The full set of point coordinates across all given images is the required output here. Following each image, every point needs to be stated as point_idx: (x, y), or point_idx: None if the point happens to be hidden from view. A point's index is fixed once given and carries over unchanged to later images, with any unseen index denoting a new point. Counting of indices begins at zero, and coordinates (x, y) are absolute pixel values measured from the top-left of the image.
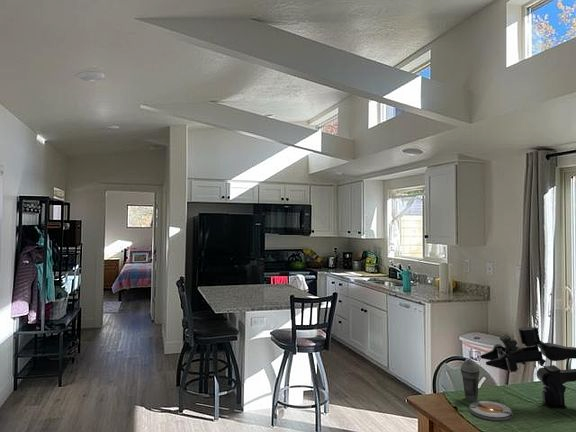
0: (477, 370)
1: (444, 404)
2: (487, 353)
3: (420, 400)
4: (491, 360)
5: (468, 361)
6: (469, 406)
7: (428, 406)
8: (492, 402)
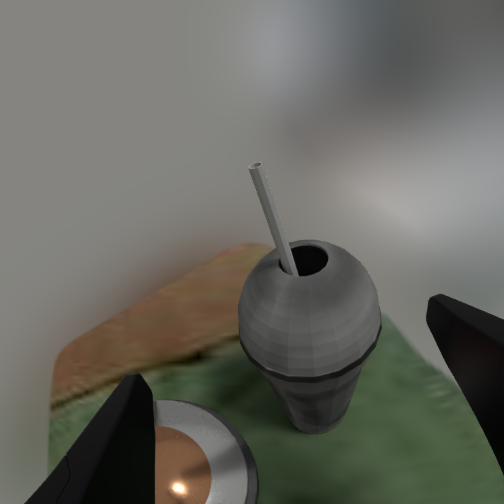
0: (268, 360)
1: (217, 324)
2: (495, 341)
3: (235, 263)
4: (105, 424)
5: (350, 260)
6: (189, 402)
7: (189, 288)
8: (234, 498)
